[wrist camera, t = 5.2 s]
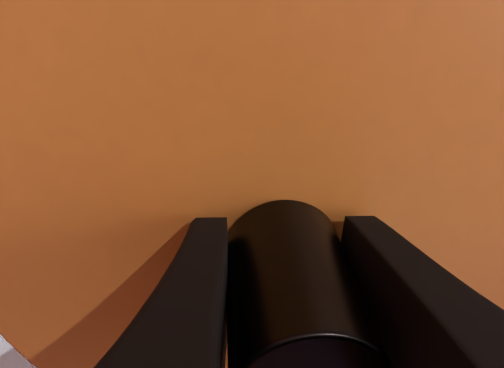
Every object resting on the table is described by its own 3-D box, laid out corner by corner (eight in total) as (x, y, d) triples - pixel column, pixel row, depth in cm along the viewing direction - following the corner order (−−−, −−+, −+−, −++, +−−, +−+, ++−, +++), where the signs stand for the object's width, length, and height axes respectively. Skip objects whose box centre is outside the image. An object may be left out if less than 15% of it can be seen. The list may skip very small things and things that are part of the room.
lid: (471, 392, 14) (574, 573, 10) (36, 411, 13) (-46, 621, 9) (685, -114, 8) (1217, -181, 4) (-148, -157, 7) (-738, -323, 2)
